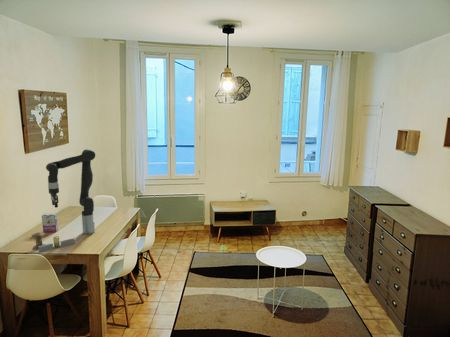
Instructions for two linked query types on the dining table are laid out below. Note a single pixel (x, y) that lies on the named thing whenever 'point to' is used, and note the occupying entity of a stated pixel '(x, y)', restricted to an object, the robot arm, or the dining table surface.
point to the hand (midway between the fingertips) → (55, 206)
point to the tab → (56, 241)
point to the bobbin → (38, 239)
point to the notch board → (50, 246)
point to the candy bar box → (50, 222)
